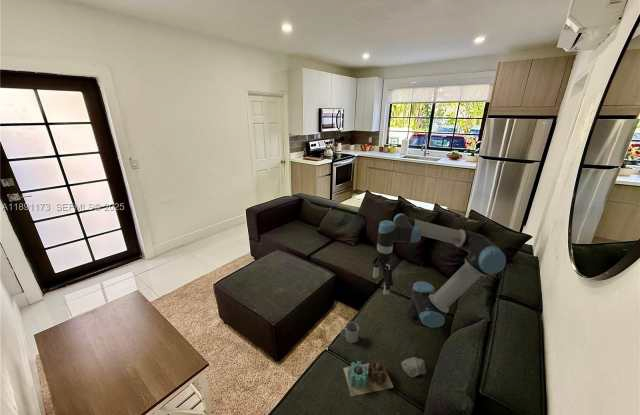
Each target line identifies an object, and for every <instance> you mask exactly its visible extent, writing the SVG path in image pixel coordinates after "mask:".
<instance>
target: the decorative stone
mask: <svg viewBox="0 0 640 415" xmlns="http://www.w3.org/2000/svg"><path fill="white" fill-rule="evenodd" d="M425 363H426V362H425V360H423V358H418V357H411V358H406V359H404V360H403V361H401V363H400V365H401V368H402V371H403V372H404V373H405V374H406V375H407V376H409V378H413V379H414V378H415V377H417V376H420V375H426V374H427V368H426V364H425Z"/></svg>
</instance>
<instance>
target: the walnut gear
mask: <svg viewBox="0 0 640 415" xmlns="http://www.w3.org/2000/svg"><path fill="white" fill-rule="evenodd" d="M368 363H369V365H368V377H371V378H370V381H371V382H372V383H374V381H375V382H377V385H381V382H383V383H385V382H386V379H387V373H389V366H388V364H386V361H385V360H383V359H381V360H379V357H374V359H372V358H371V359H370V360H369V362H368ZM376 363H380V364H381V370H380V371H378V370H375V367H376Z"/></svg>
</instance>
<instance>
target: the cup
mask: <svg viewBox="0 0 640 415" xmlns="http://www.w3.org/2000/svg"><path fill="white" fill-rule="evenodd" d="M339 332H340V333H339V334H340V336H341V337H342V338H344V339H345V341H346V343H347V344H354V343H357V342H358V341H359V334H360V333H359V332H360V327H359V324H358V323H357V322H354V321H349V322H346V323H345V326H344V327H342V328H341V329H340V331H339ZM344 332H345V333H344Z"/></svg>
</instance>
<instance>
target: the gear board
mask: <svg viewBox="0 0 640 415" xmlns="http://www.w3.org/2000/svg"><path fill="white" fill-rule="evenodd" d="M364 364H365V365H366V366H367V370H368V365H369V362H368V363H367V362H366V363H363V364H362V363H361V365H364ZM349 367H350V366H346V367H343V368H342V369H343V372H344V375H345V379H346V383H347V387H348V389H349V392H350V396H351V397H354V396H359V395H365V394H369V393H373V392H378V391H382V390H388V389H392V388H394V385H393V382H392V381H391V378H390V375H389V374H388V373H389V372H388V373H387V379H386V382H385V383H383V382H381V385H377V382H375V381H374V383H372V382H371V381H370V378H371V377H368V381H367V383H366V386H365V387H364V388H362V387H361V386H359V389H356V388H355V385H352V386H351V385H350V383H349V380H350V379H348V373H349ZM375 370H378V371H380V370H381V364H380V363H376V367H375ZM356 374H358V375H360V374H361V367H359V366H357V367H356Z"/></svg>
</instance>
